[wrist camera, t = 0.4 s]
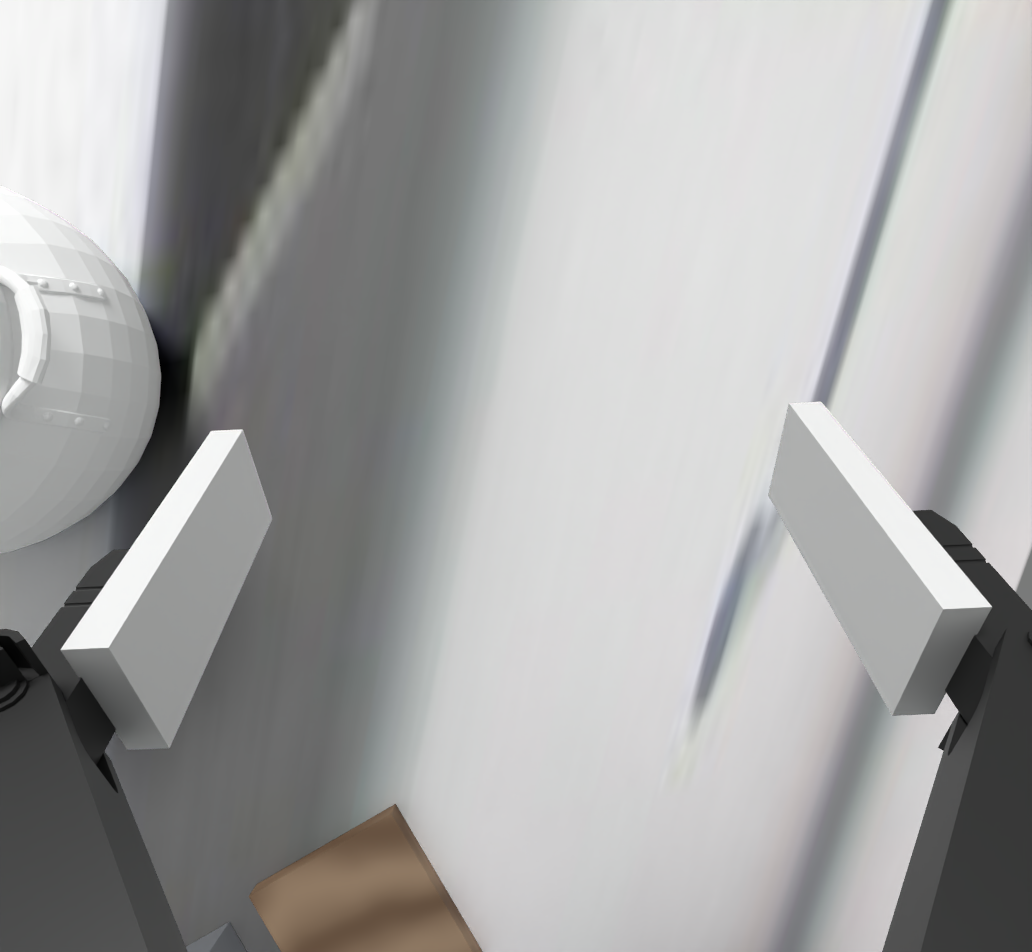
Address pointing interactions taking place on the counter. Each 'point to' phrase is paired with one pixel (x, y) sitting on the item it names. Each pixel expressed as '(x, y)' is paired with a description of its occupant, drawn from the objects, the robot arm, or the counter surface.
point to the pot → (66, 374)
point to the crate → (218, 941)
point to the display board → (363, 896)
